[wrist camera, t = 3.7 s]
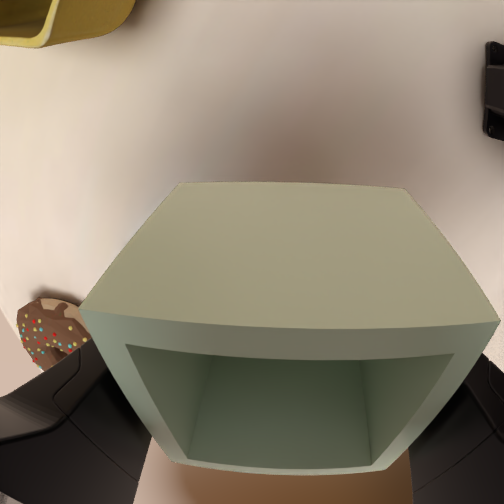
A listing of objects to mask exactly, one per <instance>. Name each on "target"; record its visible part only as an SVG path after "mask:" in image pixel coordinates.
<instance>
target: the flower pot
mask: <svg viewBox="0 0 504 504" xmlns="http://www.w3.org/2000/svg"><path fill="white" fill-rule="evenodd" d="M135 1H136V0H0V45H6V46H17V47H24V48H43V47H47V46H51V45H56V44H61V43H66V42H71V41H77V40H82V39H89V38H94V37H99V36H102V35H105V34H108V33H110V32H112V31H113V30H115V29H116V28H118V27H119V26H120V25H121V24H122V23H123V22H124V21H125V19H126V18H127V17H128V15H129V14H130V12H131V11H132V9H133V6H134V4H135Z"/></svg>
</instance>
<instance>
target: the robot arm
mask: <svg viewBox="0 0 504 504" xmlns="http://www.w3.org/2000/svg"><path fill="white" fill-rule="evenodd" d="M493 46H494V48H495V52H494V50H493ZM486 50H487V68H486V92H485V114H484V124H483V131H484V133H485V135H487V136H489V137H491V138H495V139H498V140H502V141H504V45H502V44H500V43H497V42H494V41H490V42H488V43H487V46H486ZM490 127H491V129H492V130H491V132H489V128H490ZM151 438H152V435H151V434H150V432H149V431H148V429H147V428H146V427H145V425H144V424H143V422H142V421H141V419H140V418H139V416H138V415H137V413H136V412H135V410H134V409H133V407H132V406H131V404H130V403H129V401H128V400H127V398H126V396H125V395H124V393H123V392H122V390H121V388H120V387H119V385H118V383H117V382H116V380H115V378H114V377H113V375H112V373H111V371H110V370H109V368H108V366H107V364H106V363H105V361H104V359H103V357H102V355H101V354H100V352H99V350H98V348H97V346H96V344H95V342H94V340H93V338H90V339H89V340H88V341H86V342H85V343H84V344H82V345H81V346H80V348H79V347H78V348H77V349H76V350H74V351H73V352H72V353H70V354H69V355H68V356H66V357H65V358H63V359H62V360H61V361H59V362H58V363H56V364H55V365H53V366H52V367H50V368H49V369H47V370H46V371H44V372H43V373H41V374H40V375H38V376H37V377H35V378H33V379H32V380H30V381H29V382H27V383H26V384H24V385H22V386H21V387H19V388H17V389H16V390H14V391H13V392H11V393H9V394H8V395H5V396H3V397H0V504H133V501H134V498H135V494H136V491H137V487H138V481H139V479H140V476H141V472H142V469H143V465H144V462H145V458H146V454H147V451H148V448H149V445H150V441H151ZM408 450H409V459H410V468H411V477H412V478H411V479H412V490H413V504H504V373H503V372H502V371H501V370H500V369H499V368H498V367H497V366H496V365H495V364H494V363H493V362H492V361H489V359H488V358H487V357H486V356H485V355H484V354H483V353H482V354H481V355H480V357H479V358H478V360H477V361H476V363H475V364H474V366H473V367H472V369H471V370H470V372H469V373H468V375H467V376H466V378H465V379H464V380H463V382H462V383H461V385H460V386H459V387H458V389H457V390H456V391H455V393H454V394H453V395H452V397H451V398H450V399H449V401H448V402H447V403H446V404H445V406H444V407H443V408H442V409H441V411H440V412H439V413H438V414H437V415H436V417H435V418H434V419H433V420H432V421H431V423H430V424H429V425H428V426H427V427H426V428H425V429H424V431H423V432H422V433H421V434H420V435H419V436H418V437H417V438H416V439H415V440H414V441H413V443H412V444H411V445H410V446H409V447H408Z"/></svg>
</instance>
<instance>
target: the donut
mask: <svg viewBox="0 0 504 504" xmlns="http://www.w3.org/2000/svg"><path fill="white" fill-rule="evenodd" d="M78 308H79V307H78V306H76V305H74V304H72V303H69V302H66V301H62V300H58V299H45V298H43V299H42V298H40V297H39V298H38V299H36V300H35V301H33V302H30V303H28V304H27V305H25V306H24V307H22V308H21V309H19V310H18V314H17V324H16V327H18V329H19V333H20V337H21V343H22V344H23V346H24V348H25V349H26V350H27V352H28V353H29V355H30V356H31V357H32V359H33V362H35V363H36V364H37V367H39V368H41V369H42V370H44V371H46V370H47V369H49V368H50V367H52V366H53V365H55V364H56V363H58V362H59V361H61V360H62V359H63V358H65V357H66V356H68V355H69V354H70V353H72V352H73V351H74V350H76V349H77V348H78V347H79V348H80V346H81V345H82V344H84V343H85V342H86V341H88V340H89V339H90V338H92V336H91V334H90V332H89V330H88V328H87V326H86V324H85V322H84V320H83V318H82V316H81V314H80V312H79V310H78Z"/></svg>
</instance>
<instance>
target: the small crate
mask: <svg viewBox="0 0 504 504" xmlns="http://www.w3.org/2000/svg"><path fill="white" fill-rule="evenodd" d="M78 310H79V312H80V314H81V316H82V318H83V320H84V322H85V324H86V326H87V328H88V330H89V332H90V334H91V336H92V338H93V340H94V342H95V344H96V346H97V348H98V350H99V352H100V354H101V355H102V357H103V359H104V361H105V363H106V364H107V366H108V368H109V370H110V371H111V373H112V375H113V377H114V378H115V380H116V382H117V383H118V385H119V387H120V388H121V390H122V392H123V393H124V395H125V396H126V398H127V400H128V401H129V403H130V404H131V406H132V407H133V409H134V410H135V412H136V413H137V415H138V416H139V418H140V419H141V421H142V422H143V424H144V425H145V427H146V428H147V429H148V431H149V432H150V434H151V435H152V436H153V438H154V439H155V441H156V442H157V443H158V445H159V446H160V447H161V449H162V450H163V451H164V452H165V454H166V455H167V456H168V458H169V459H170V460H171V461H172V462H177V463H182V464H187V465H192V466H198V467H205V468H211V469H218V470H226V471H235V472H245V473H258V474H275V475H276V474H277V475H330V474H348V473H361V472H371V471H379V470H385V469H386V468H388V467H389V466H390V465H391V464H392V463H393V462H394V461H395V460H396V459H397V458H398V457H399V456H400V455H401V454H402V453H403V452H404V451H405V450H406V449H407V448H408V447H409V446H410V445H411V444H412V443H413V441H414V440H415V439H416V438H417V437H418V436H419V435H420V434H421V433H422V432H423V431H424V429H425V428H426V427H427V426H428V425H429V424H430V423H431V421H432V420H433V419H434V418H435V417H436V415H437V414H438V413H439V412H440V411H441V409H442V408H443V407H444V406H445V404H446V403H447V402H448V401H449V399H450V398H451V397H452V395H453V394H454V393H455V391H456V390H457V389H458V387H459V386H460V385H461V383H462V382H463V380H464V379H465V378H466V376H467V375H468V373H469V372H470V370H471V369H472V367H473V366H474V364H475V363H476V361H477V360H478V358H479V357H480V355H481V354H482V352H483V350H484V349H485V347H486V346H487V344H488V342H489V341H490V339H491V337H492V335H493V334H494V332H495V330H496V329H497V327H498V325H499V323H500V321H501V320H500V318H499V317H498V315H497V313H496V312H495V310H494V308H493V307H492V305H491V303H490V302H489V300H488V299H487V297H486V295H485V294H484V292H483V291H482V289H481V288H480V286H479V285H478V283H477V282H476V280H475V279H474V277H473V276H472V274H471V273H470V271H469V270H468V268H467V267H466V265H465V264H464V263H463V261H462V260H461V258H460V257H459V256H458V254H457V253H456V252H455V250H454V249H453V248H452V246H451V245H450V244H449V242H448V241H447V240H446V238H445V237H444V236H443V234H442V233H441V232H440V231H439V229H438V228H437V227H436V226H435V224H434V223H433V222H432V221H431V219H430V218H429V217H428V216H427V214H426V213H425V212H424V211H423V210H422V208H421V207H420V206H419V205H418V204H417V203H416V201H415V200H414V199H413V198H412V197H411V196H410V195H409V193H408V192H407V191H406V190H405V189H403V188H391V187H378V186H364V185H347V184H327V183H300V182H190V183H179V184H178V185H177V186H176V187H175V188H174V190H173V191H172V192H171V193H170V194H169V195H168V196H167V197H166V199H165V200H164V201H163V202H162V203H161V204H160V205H159V206H158V208H157V209H156V210H155V211H154V212H153V213H152V215H151V216H150V217H149V218H148V219H147V220H146V222H145V223H144V224H143V225H142V226H141V228H140V229H139V230H138V231H137V232H136V234H135V235H134V236H133V237H132V238H131V240H130V241H129V242H128V243H127V245H126V246H125V247H124V248H123V250H122V251H121V252H120V253H119V255H118V256H117V257H116V258H115V260H114V261H113V262H112V264H111V265H110V266H109V267H108V269H107V270H106V271H105V273H104V274H103V275H102V277H101V278H100V279H99V281H98V282H97V283H96V285H95V286H94V287H93V289H92V290H91V291H90V293H89V294H88V295H87V297H86V298H85V300H84V301H83V302H82V304H81V305H80V307H79V308H78Z"/></svg>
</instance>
